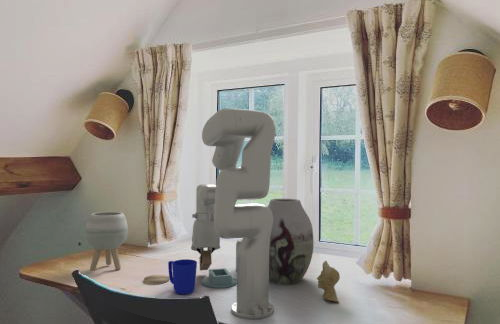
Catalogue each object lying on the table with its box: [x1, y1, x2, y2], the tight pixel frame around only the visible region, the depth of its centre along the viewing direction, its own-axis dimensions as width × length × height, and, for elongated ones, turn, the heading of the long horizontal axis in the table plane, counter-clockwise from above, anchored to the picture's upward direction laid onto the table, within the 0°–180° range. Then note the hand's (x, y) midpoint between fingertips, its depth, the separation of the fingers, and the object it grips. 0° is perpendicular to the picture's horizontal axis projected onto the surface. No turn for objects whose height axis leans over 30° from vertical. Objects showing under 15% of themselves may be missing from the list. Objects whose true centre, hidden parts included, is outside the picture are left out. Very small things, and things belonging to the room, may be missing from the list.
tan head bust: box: [316, 260, 341, 303], centre depth 120 cm, size 8×7×12 cm
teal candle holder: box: [201, 267, 237, 289], centre depth 137 cm, size 13×13×4 cm
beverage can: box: [235, 238, 243, 269], centre depth 154 cm, size 6×6×12 cm
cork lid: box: [143, 274, 170, 285], centre depth 138 cm, size 9×9×1 cm
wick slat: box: [198, 249, 213, 271], centre depth 144 cm, size 5×3×10 cm
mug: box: [167, 258, 198, 295], centre depth 127 cm, size 8×12×10 cm
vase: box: [267, 198, 314, 285], centre depth 141 cm, size 21×21×30 cm
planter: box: [85, 211, 129, 272], centre depth 153 cm, size 16×16×22 cm
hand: (205, 264), depth 143 cm, fingers closed on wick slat
